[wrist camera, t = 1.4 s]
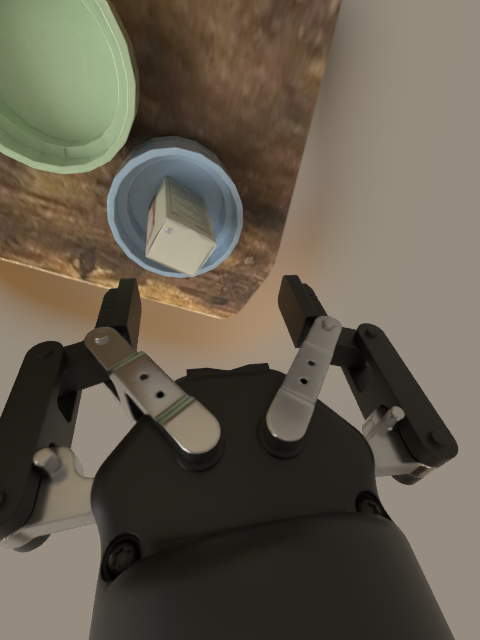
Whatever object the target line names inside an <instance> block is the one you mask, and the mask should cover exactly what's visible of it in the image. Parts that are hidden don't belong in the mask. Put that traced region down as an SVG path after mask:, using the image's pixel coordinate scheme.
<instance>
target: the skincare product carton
mask: <svg viewBox="0 0 480 640" xmlns="http://www.w3.org/2000/svg"><path fill="white" fill-rule="evenodd" d="M216 246H217V243H216V239H215V235H214V232H213V228H212V224H211V221H210V217H209V213H208V210H207V206H206V202H205V200H204V199H203V198H202V197H200V196H198V195H197V194H195V193H194V192H192V191H191V190H189V189H187V188H186V187H184V186H183V185H181V184H179V183H177V182H176V181H174V180H172V179H171V178H169V177H167V176H165V177H164V178H163V180H162V182H161V184H160V186H159V188H158V189H157V191H156V193H155V195H154V197H153V199H152V202H151V204H150V206H149V209H148V225H147V240H146V257H147V258H149V259H151V260H153V261H155V262H158V263H160V264H162V265H164V266H166V267H169V268H171V269H173V270H176V271H178V272H181V273H183V274H186V275H188V276H191V277H194V276H195V275H196V273H197V272H198V271H199V270H200V268H201V267H202V266H203V264H204V263H205V262H206V260H207V259H208V258H209V256H210V255H211V253H212V252H213V251H214V249H215V248H216Z"/></svg>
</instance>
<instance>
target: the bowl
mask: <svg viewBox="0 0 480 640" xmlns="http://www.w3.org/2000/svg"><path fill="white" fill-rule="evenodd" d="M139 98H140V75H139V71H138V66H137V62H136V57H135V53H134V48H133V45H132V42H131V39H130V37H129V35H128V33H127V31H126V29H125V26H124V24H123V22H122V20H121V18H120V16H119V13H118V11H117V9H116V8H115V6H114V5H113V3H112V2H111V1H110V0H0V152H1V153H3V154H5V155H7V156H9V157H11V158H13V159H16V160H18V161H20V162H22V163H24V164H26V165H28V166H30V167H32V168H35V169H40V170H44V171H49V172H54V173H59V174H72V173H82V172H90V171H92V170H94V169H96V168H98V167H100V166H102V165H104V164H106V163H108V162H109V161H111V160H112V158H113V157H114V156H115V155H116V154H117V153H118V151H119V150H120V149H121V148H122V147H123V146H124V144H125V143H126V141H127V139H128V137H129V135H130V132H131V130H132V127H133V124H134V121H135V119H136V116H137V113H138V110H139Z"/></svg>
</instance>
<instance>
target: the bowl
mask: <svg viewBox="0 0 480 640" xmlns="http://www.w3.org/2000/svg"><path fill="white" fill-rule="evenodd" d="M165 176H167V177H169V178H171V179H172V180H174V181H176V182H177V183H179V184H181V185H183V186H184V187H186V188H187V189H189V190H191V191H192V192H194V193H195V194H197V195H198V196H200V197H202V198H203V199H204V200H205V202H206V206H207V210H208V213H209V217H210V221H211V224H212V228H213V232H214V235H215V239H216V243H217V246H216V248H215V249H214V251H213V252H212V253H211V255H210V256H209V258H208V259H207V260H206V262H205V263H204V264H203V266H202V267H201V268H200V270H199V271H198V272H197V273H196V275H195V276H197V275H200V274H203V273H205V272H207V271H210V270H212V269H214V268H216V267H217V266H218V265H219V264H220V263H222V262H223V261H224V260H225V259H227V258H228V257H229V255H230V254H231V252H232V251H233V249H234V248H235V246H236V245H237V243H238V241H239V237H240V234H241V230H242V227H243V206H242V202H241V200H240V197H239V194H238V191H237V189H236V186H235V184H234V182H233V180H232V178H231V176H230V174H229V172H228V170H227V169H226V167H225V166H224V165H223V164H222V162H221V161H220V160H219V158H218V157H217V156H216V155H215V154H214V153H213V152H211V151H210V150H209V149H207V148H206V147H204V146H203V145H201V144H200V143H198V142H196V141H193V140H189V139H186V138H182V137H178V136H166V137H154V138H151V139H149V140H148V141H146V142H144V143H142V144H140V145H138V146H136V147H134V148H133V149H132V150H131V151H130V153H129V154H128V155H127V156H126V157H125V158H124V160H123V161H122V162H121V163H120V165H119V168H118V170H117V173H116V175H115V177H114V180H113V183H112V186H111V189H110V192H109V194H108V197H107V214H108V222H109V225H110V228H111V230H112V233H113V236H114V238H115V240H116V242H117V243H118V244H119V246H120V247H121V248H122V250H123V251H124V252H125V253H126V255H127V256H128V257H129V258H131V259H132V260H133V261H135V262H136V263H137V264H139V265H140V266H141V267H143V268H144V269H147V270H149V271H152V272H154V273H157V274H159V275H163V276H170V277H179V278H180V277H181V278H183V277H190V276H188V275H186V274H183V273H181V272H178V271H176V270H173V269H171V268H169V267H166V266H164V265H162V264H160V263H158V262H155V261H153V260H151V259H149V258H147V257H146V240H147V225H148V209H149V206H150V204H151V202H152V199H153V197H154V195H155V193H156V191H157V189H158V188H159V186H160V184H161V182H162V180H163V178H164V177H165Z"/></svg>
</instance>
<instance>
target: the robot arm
mask: <svg viewBox="0 0 480 640" xmlns="http://www.w3.org/2000/svg"><path fill="white" fill-rule="evenodd" d="M278 306H279V309H280V311H281V313H282V316H283V319H284V321H285V324H286V326H287V328H288V331H289V333H290V336H291V338H292V341H293V343H294V346H295V348H300V349H299V351H298V354H297V355H296V357H295V359H294V361H293V364H292V365H291V368H290V369H289V371H288V374H287V375H286V374H284V373H282V372H279V371H276V370H272V369H269V365H268V363H263V364H262V363H261V364H249V365H246V366H242V367H239V368H236V369H233V370H220V369H212V368H199V369H187V376H185V377H182V378H179V379H177V380H176V381H173V380H172V379H171V378H170V377H169V376H168V375H167V374H166V373H165V372H164V371H163V370H162V369H161V368H160V367H159V366H158V365H157V364H156V363H155V362H154V361H153V360H152V359H151V358H150V357H149V356H148V355H147V354H146V353H145V352H143V351H141V352H139V353H138V352H137V343H138V335H139V327H140V318H141V300H140V295H139V290H138V284H137V280H136V278H128V279H120V282H119V287H118V288H114V289H110V290H109V291H108V292H107V293H106V294H105V295H104V298H103V302H102V305H101V309H100V312H99V316H98V319H97V323H96V326H95V329H94V330H92V331H90V332H89V333H88V334H87V335H86V336H85V339H84V341H81V342H79V343H76V344H72V345H69V346H65V347H63V346H62V344H61V343H59V342H56V341H46V342H42V343H39V344H37V345H35V346H34V347H32V348H31V349H30V350H29V351H28V352H27V354H26V355H25V358H24V360H23V363H22V365H21V368H20V370H19V373H18V375H17V378H16V380H15V383H14V385H13V388H12V390H11V393H10V395H9V398H8V400H7V403H6V405H5V408H4V410H3V412H2V415H1V417H0V546H1V547H3V548H6V549H13V550H15V551H18V552H28V551H31V550H33V549H35V548H37V547H39V546H40V545H42V544H43V542H45V541H46V540H47V539H48V537H49V536H50V534H51V533H56V532H60V531H64V530H69V529H73V528H77V527H81V526H86V525H90V524H94V523H96V524H97V526H98V530H99V535H100V540H101V563H100V569H99V575H98V581H97V587H96V594H95V601H94V608H93V615H92V622H91V629H90V635H89V640H455V639H454V637H453V635H452V633H451V630H450V628H449V626H448V624H447V622H446V620H445V618H444V616H443V614H442V612H441V609H440V607H439V605H438V603H437V601H436V599H435V597H434V595H433V593H432V590H431V588H430V586H429V584H428V582H427V580H426V578H425V576H424V574H423V571H422V569H421V567H420V565H419V563H418V561H417V559H416V557H415V555H414V552H413V550H412V548H411V546H410V544H409V542H408V540H407V538H406V536H405V535H404V534H403V532H402V531H401V530H400V529H399V528H398V527H397V525H396V524H395V523H394V522H393V521H392V520H391V518H390V517H389V515H388V514H387V512H386V511H385V510H384V508H383V506H382V504H381V502H380V499H379V496H378V492H377V487H376V480H375V477H381V476H392V477H393V478H394V479H395V480H397V481H398V482H400V483H402V484H405V485H413V484H415V483H416V482H418V481H419V480H421V479H422V478H424V477H425V476H427V475H428V474H430V473H431V472H433V471H434V470H436V469H437V468H439V467H440V466H442V465H443V464H445V463H446V462H448V461H449V460H451V459H452V458H454V457H455V456H456V455H457V453H458V446H457V443H456V441H455V439H454V437H453V436H452V435H451V433H450V431H449V430H448V428H447V427H446V425H445V424H444V422H443V421H442V419H441V418H440V416H439V415H438V413H437V412H436V410H435V409H434V407H433V406H432V404H431V403H430V401H429V400H428V398H427V397H426V395H425V394H424V392H423V391H422V389H421V387H420V386H419V384H418V383H417V381H416V380H415V379H414V377H413V375H412V374H411V372H410V371H409V370H408V368H407V366H406V365H405V363H404V362H403V360H402V359H401V358H400V356H399V354H398V353H397V351H396V350H395V348H394V347H393V346H392V344H391V342H390V341H389V339H388V338H387V336H386V335H385V333H384V332H383V331H382V330H381V329H380V328H378V327H377V326H375V325H372V324H368V323H367V324H366V323H364V324H361V325H359V327H358V328H357V330H355V329H350V328H344V327H342V326H341V324H340V323H339V321H337V320H336V319H334V318H332V317H329V316H328V315H327V314H326V312H325V310H324V308H323V307H322V305H321V303H320V301H318V298H317V296H316V295H315V293H314V291H313V290H312V288H311V287H309V286H308V285H307V284H302V283H301V281H300V279H299V277H298V276H297V275H285V276H283V278H282V282H281V287H280V291H279V295H278ZM329 365H336V366H341V368H342V370H343V373H344V375H345V377H346V379H347V382H348V384H349V385H350V388H351V390H352V393H353V395H354V397H355V399H356V401H357V403H358V406H359V408H360V410H361V412H362V414H363V417H364V419H365V422H364V423H363V426H362V431H363V435H364V436H363V435H362V434H361V433H360V432H359V431H358V430H357V429H356V428H355V427H354V426H352V425H351V424H350V423H348V422H347V421H346V420H344V419H343V418H342V417H340V416H339V415H338V414H337V413H336V412H334V411H333V410H332V409H330V408H329V407H328V406H326V405H325V404H324V403H323V402H321V401H320V400H319V399H318V395H319V393H320V390H321V387H322V384H323V382H324V379H325V376H326V373H327V370H328V368H329ZM100 383H102V384H103V385H104V386H105V388H106V389H107V390H108V391H109V392H110V394H111V395H112V396H113V397H114V399H115V400H116V401H117V402H118V403H119V405H120V406H121V407H122V409H123V410H124V412H125V414H126V416H127V417H128V419H129V420H130V422H131V423H132V424H133V425H134V426H133V428H132V429H131V430H130V431H129V433H128V434H127V435H126V436H125V437H124V438H123V440H122V441H121V442H120V443H119V444H118V446H117V447H116V448H115V449H114V450H113V452H112V453H111V454H110V455H109V456H108V457H107V459H106V460H105V461H104V462H103V464H102V465H101V466H100V468H99V470H98V471H97V473H96V476H95V478H86V477H84V476H83V465H82V463H81V462H80V460H79V459H78V458H77V456H76V455H75V454H74V452H73V451H72V450H71V444H72V438H73V434H74V429H75V424H76V419H77V413H78V408H79V403H80V398H81V393H82V389H85V388H88V387H91V386H94V385H97V384H100Z"/></svg>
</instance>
